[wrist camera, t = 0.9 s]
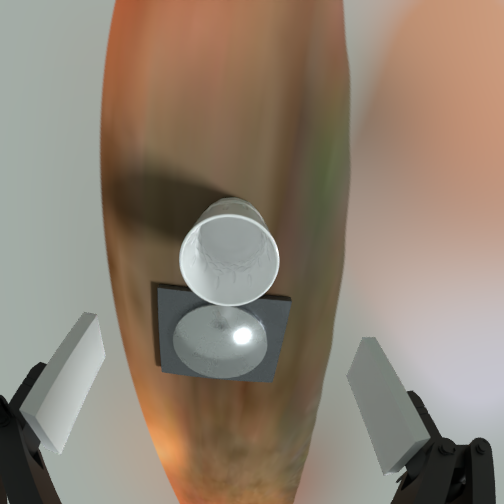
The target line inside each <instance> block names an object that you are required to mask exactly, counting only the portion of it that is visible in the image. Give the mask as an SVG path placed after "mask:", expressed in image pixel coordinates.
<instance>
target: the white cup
mask: <svg viewBox="0 0 504 504" xmlns="http://www.w3.org/2000/svg"><path fill="white" fill-rule="evenodd" d="M179 264H180V270H181V273H182V276H183V278H184V280H185V282H186V284H187V285H188V286H189V288H190V289H191V290H192V291H193V292H194V293H195V294H196V295H198V296H199V297H200V298H202V299H204V300H206V301H208V302H210V303H213V304H216V305H221V306H239V305H243V304H247V303H250V302H252V301H254V300H256V299H257V298H259V297H260V296H262V295H263V294H264V293H265V292H266V291H267V290H268V289H269V288H270V287H271V285H272V284H273V282H274V280H275V278H276V276H277V273H278V268H279V253H278V249H277V246H276V243H275V241H274V239H273V237H272V235H271V233H270V231H269V229H268V227H267V225H266V223H265V221H264V220H263V218H262V216H261V215H260V214H259V212H258V211H257V210H256V209H255V208H254V207H253V206H252V204H251V203H250V202H248V201H245V200H242V199H240V198H237V197H232V198H222V199H220V200H218V201H217V202H215V203H213V204H211V205H210V206H209V207H208V209H207V210H205V211H204V212H203V214H202V215H201V216H200V217H199V218H198V220H197V221H196V222H195V224H194V225H193V227H192V228H191V230H190V231H189V233H188V234H187V235H186V237H185V239H184V241H183V243H182V246H181V249H180V254H179Z"/></svg>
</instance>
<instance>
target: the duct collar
mask: <svg viewBox="0 0 504 504" xmlns="http://www.w3.org/2000/svg"><path fill="white" fill-rule="evenodd" d="M291 302H292V301H291V298H290V297H281V296H269V295H262V296H260V297H259V298H257V299H256V300H254V301H252V302H250V303H247V304H243V305H239V306H221V305H216V304H213V303H210V302H208V301H206V300H204V299H202V298H200V297H199V296H198V295H196V294H195V293H194V292H193V291H192V290H191V289H190V288H189V287H180V286H172V285H164V284H159V286H158V320H159V340H160V355H161V368H162V372H165V373H172V374H179V375H187V376H195V377H204V378H213V379H224V380H237V381H253V382H273V378H274V374H275V370H276V366H277V362H278V358H279V354H280V350H281V346H282V342H283V337H284V333H285V329H286V324H287V320H288V316H289V311H290V307H291Z"/></svg>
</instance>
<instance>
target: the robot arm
mask: <svg viewBox="0 0 504 504" xmlns="http://www.w3.org/2000/svg"><path fill="white" fill-rule="evenodd" d="M105 357H106V356H105V351H104V347H103V342H102V337H101V332H100V327H99V322H98V316H97V314H92V313H87V312H84V313H83V314H82V315H81V317H80V318H79V319H78V321H77V322H76V324H75V325H74V327H73V328H72V329H71V331H70V332H69V333H68V335H67V336H66V338H65V339H64V340H63V342H62V343H61V345H60V346H59V348H58V349H57V350H56V352H55V354H54V355H53V356H52V358H51V359H50V361H49V362H48V364H45V363H42V362H39V363H38V364H37V365H35V366H34V367H33V368H32V369H31V370H30V372H29V373H28V375H27V377H26V378H25V379H24V381H23V382H22V384H21V385H20V387H19V388H18V390H17V391H16V393H15V395H14V396H13V398H12V399H11V401H10V403H9V404H8V402H7V401H6V399H5V398H4V397H3V396H2V395H0V504H7V497H8V500H9V503H10V504H62V503H61V501H60V499H59V497H58V495H57V493H56V490H55V488H54V486H53V483H52V481H51V478H50V476H49V473H48V471H47V468H46V466H45V463H44V460H43V457H42V455H41V452H40V450H39V448H38V447H39V445H40V442H41V443H42V444H43V446H44V447H45V448H46V449H47V450H49V451H52V452H54V453H57V454H59V455H61V453H62V451H63V448H64V446H65V444H66V441H67V439H68V436H69V434H70V431H71V429H72V427H73V424H74V422H75V420H76V418H77V415H78V413H79V411H80V409H81V406H82V404H83V402H84V400H85V398H86V396H87V393H88V391H89V389H90V387H91V385H92V383H93V381H94V379H95V377H96V375H97V373H98V370H99V368H100V366H101V364H102V362H103V360H104V358H105ZM347 378H348V381H349V383H350V386H351V389H352V391H353V394H354V396H355V399H356V401H357V404H358V407H359V409H360V412H361V414H362V417H363V420H364V422H365V425H366V428H367V431H368V433H369V436H370V439H371V441H372V444H373V447H374V450H375V452H376V455H377V458H378V461H379V464H380V466H381V469H382V472H383V475H388V474H392V473H396V472H399V471H400V470H401V469H402V468H403V467H404V466H406V469H407V471H406V472H405V473H404V474H403V475H402V476H401V477H400V478H399V479H398V480H397V481H396V482H397V483H398V482H399V481H400V480H401V479H402V480H401V482H400V485H399V487H398V489H397V491H396V494H395V496H394V498H393V500H392V502H391V504H496V496H495V478H494V466H493V457H492V449H491V446H490V444H489V442H488V441H487V440H485V439H484V438H475V439H474V440H473V441H472V442H471V443H470V444H469V445H456V444H455V443H454V442H453V441H452V440H450V439H448V438H442V436H441V435H440V433H439V431H438V429H437V427H436V425H435V423H434V422H433V420H432V418H431V416H430V414H428V411H427V409H426V408H425V407H424V406H425V405H424V404H423V402H422V400H421V398H420V397H419V396H418V395H417V394H416V393H415V392H413V391H407V392H406V390H405V388H404V386H403V385H402V383H401V381H400V379H399V377H398V376H397V374H396V372H395V370H394V369H393V367H392V365H391V364H390V362H389V360H388V359H387V357H386V355H385V353H384V352H383V350H382V348H381V347H380V345H379V343H378V341H377V340H376V338H375V337H367V338H365V337H364V338H362V340H361V342H360V345H359V347H358V350H357V352H356V355H355V357H354V360H353V362H352V365H351V367H350V369H349V371H348V374H347ZM6 494H7V495H6Z"/></svg>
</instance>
